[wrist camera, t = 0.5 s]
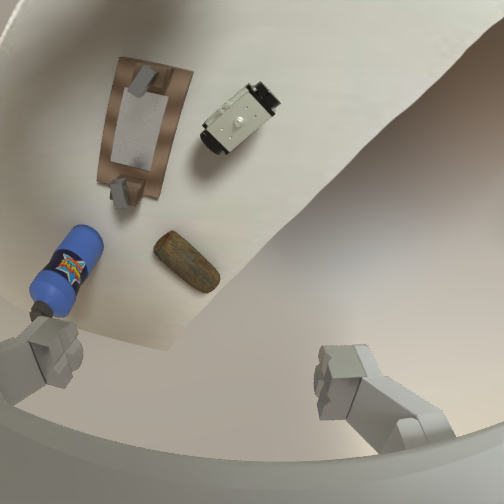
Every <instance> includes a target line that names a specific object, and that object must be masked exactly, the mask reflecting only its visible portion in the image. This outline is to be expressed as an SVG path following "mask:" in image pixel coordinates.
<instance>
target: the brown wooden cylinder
mask: <svg viewBox="0 0 504 504" xmlns="http://www.w3.org/2000/svg"><path fill="white" fill-rule="evenodd" d="M154 253H155V255H156V256H157V257H158V258H159V259H160V260H161V261H162V262H163V263H164V264H165V265H166V266H167V267H169V268H170V269H171V270H172V271H173V272H174V273H176V274H177V275H178V276H179V277H180V278H182V279H183V280H184V281H186V282H187V283H188V284H189V285H191V286H192V287H194V288H195V289H197V290H199V291H201V292H203V293H209V292H211V291H213V290H214V289H215V288H216V287H217V285H218V284H219V282H220V274H219V273H218V271H217V270H216V269H215V268H214V267H213V266H212V265H211V264H210V263H209V262H208V261H207V260H206V259H205V258H204V257H203V256H202V255H201V254H200V253H199V252H198V251H197V250H196V249H195V248H194V247H193V246H192V245H191V244H189V243H188V242H187V241H186V240H185V239H184V238H182V237H181V236H180V235H179V234H177V233H176V232H175V231H170V232H168V233H167V234H165V235H164V236H162V237H161V238H160V239H159V240H158V241H157V243H156V244H155V246H154Z"/></svg>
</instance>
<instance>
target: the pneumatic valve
mask: <svg viewBox="0 0 504 504" xmlns="http://www.w3.org/2000/svg"><path fill="white" fill-rule="evenodd" d="M280 104H281V103H280V101H279V100H278V99H277V98H276V97H275V95H274V94H273V93H272V92H271V91H270V90H269V89H268V88H267V87H266V86H265V85H264V84H263V83H262V82H261V81H260V82H259V83H257V84H256V85H251V84H250V83H248V84H247V85H245V86H244V87H243V88H242V89H241V90H240V91H238V92H237V93H236V94H235V95H234V96H233V97H231V98H230V99H229V100H228V101H227V102H226V103H225V104H224V105H222V106H221V107H220V108H219V109H218V110H217V111H216V112H215V113H214V114H212V115H211V116H210V117H209V118H208V119H207V120H206V121H205V122H204V124H203V125H202V126H203V127H204V128H205V130H204V131H203V132H202V133H201V134H200V138H201V140H202V141H203V143H204V144H205V145H206V146H207V147H208V148H209V149H210V150H211V151H212V152H214V153H215V154H217V155H220V154H222V153H225V154H226V155H227V154H228V153H230V152H231V151H232V150H233V149H234V148H235V147H236V146H238V145H239V144H240V143H241V142H242V141H244V140H245V139H246V138H247V137H248V136H249V135H251V134H252V133H253V132H254V131H255V130H257V129H258V128H259V127H260V126H261V125H263V124H264V123H265V122H266V121H268V120H269V119H270V118H271V117H272V116H274V115H275V111H276V110H275V108H276V107H277V106H279V105H280Z"/></svg>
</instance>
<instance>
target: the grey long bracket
mask: <svg viewBox="0 0 504 504" xmlns="http://www.w3.org/2000/svg"><path fill="white" fill-rule="evenodd" d="M158 74H159V71H157V70H155V69H154V68H152V67H151V66H149V65H144V66H143V67H142V68H141V70H140V71H139V73H138V74H137V76H136V77H135V79H134V80H133V82H132V83H131V85H130V87H129V88H128V87H125V89H124V93H123V97H122V101H121V106H120V111H119V115H118V120H117V126H116V131H115V136H114V142H113V148H112V154H111V161H112V162H116V163H120V164H124V165H128V166H131V167H135V168H139V169H143V170H146V171H151V166H152V162H153V157H154V153H155V149H156V145H157V140H158V136H159V132H160V128H161V124H162V121H163V117H164V113H165V109H166V106H167V102H168V99H169V97H168V96H164V95H160V94H156V93H151V92H147V90H148V88H149V87H150V85H151V84H152V82H153V81H154V80H155V78H156V77H157V75H158ZM110 188H111V193H112V197H113V202H114V206H115V208H127V206H128V205H129V203H130V202H131V201H130V196H129V191H128V186H127V180H126V178H121V179H114V180H113V181H112V182H111V183H110Z"/></svg>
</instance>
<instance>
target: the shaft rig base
mask: <svg viewBox="0 0 504 504" xmlns="http://www.w3.org/2000/svg"><path fill="white" fill-rule="evenodd" d="M144 65H149V66H151V67H152V68H154V69H155V70H157V71H159V74H158V75H157V77H156V78H155V80H154V81H153V82H152V84H151V85H150V87H149V88H148V90H147V92H151V93H156V94H160V95H164V96H168V97H169V99H168V102H167V106H166V109H165V113H164V117H163V121H162V124H161V128H160V132H159V136H158V140H157V145H156V149H155V153H154V157H153V162H152V166H151V171H146V170H143V169H139V168H135V167H131V166H128V165H124V164H120V163H116V162H112V161H111V154H112V148H113V142H114V136H115V131H116V126H117V120H118V115H119V111H120V106H121V101H122V97H123V93H124V89H125V87H128V88H129V87H130V85H131V83H132V82H133V80H134V79H135V77H136V76H137V74H138V73H139V71H140V70H141V68H142V67H143V66H144ZM193 73H194V72H193V71H189V70H185V69H181V68H177V67H173V66H168V65H163V64H159V63H154V62H149V61H143V60H138V59H132V58H126V57H119V61H118V65H117V69H116V73H115V77H114V81H113V85H112V90H111V94H110V99H109V104H108V109H107V114H106V119H105V125H104V131H103V137H102V143H101V150H100V157H99V165H98V173H97V181H98V182H102V183H105V184H109V185H110V183H111V182H112V181H113V180H114V179H121V178H126V180H127V186H128V191H129V196H130V201H131V202H130V203H129V205H132V206H136V204H137V203H138V201H139V200H140V198H141V197H142V195H143V194H145V195H149V196H152V197H156V198H158V197H159V196H160V193H161V189H162V184H163V180H164V176H165V171H166V167H167V163H168V159H169V155H170V151H171V147H172V144H173V140H174V136H175V133H176V129H177V125H178V122H179V118H180V115H181V111H182V108H183V105H184V101H185V98H186V95H187V92H188V88H189V85H190V82H191V79H192V76H193ZM110 199H111V200H113V197H112V193H111V191H110Z"/></svg>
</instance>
